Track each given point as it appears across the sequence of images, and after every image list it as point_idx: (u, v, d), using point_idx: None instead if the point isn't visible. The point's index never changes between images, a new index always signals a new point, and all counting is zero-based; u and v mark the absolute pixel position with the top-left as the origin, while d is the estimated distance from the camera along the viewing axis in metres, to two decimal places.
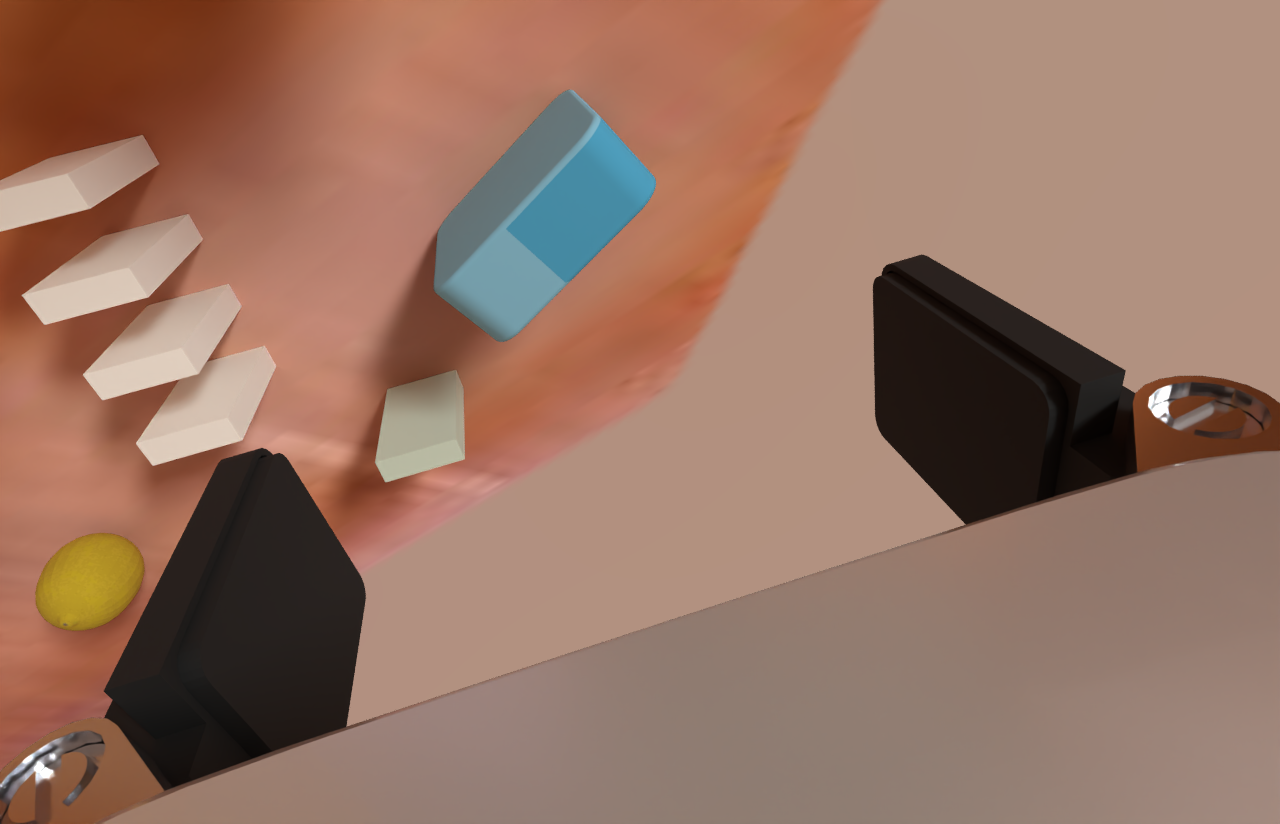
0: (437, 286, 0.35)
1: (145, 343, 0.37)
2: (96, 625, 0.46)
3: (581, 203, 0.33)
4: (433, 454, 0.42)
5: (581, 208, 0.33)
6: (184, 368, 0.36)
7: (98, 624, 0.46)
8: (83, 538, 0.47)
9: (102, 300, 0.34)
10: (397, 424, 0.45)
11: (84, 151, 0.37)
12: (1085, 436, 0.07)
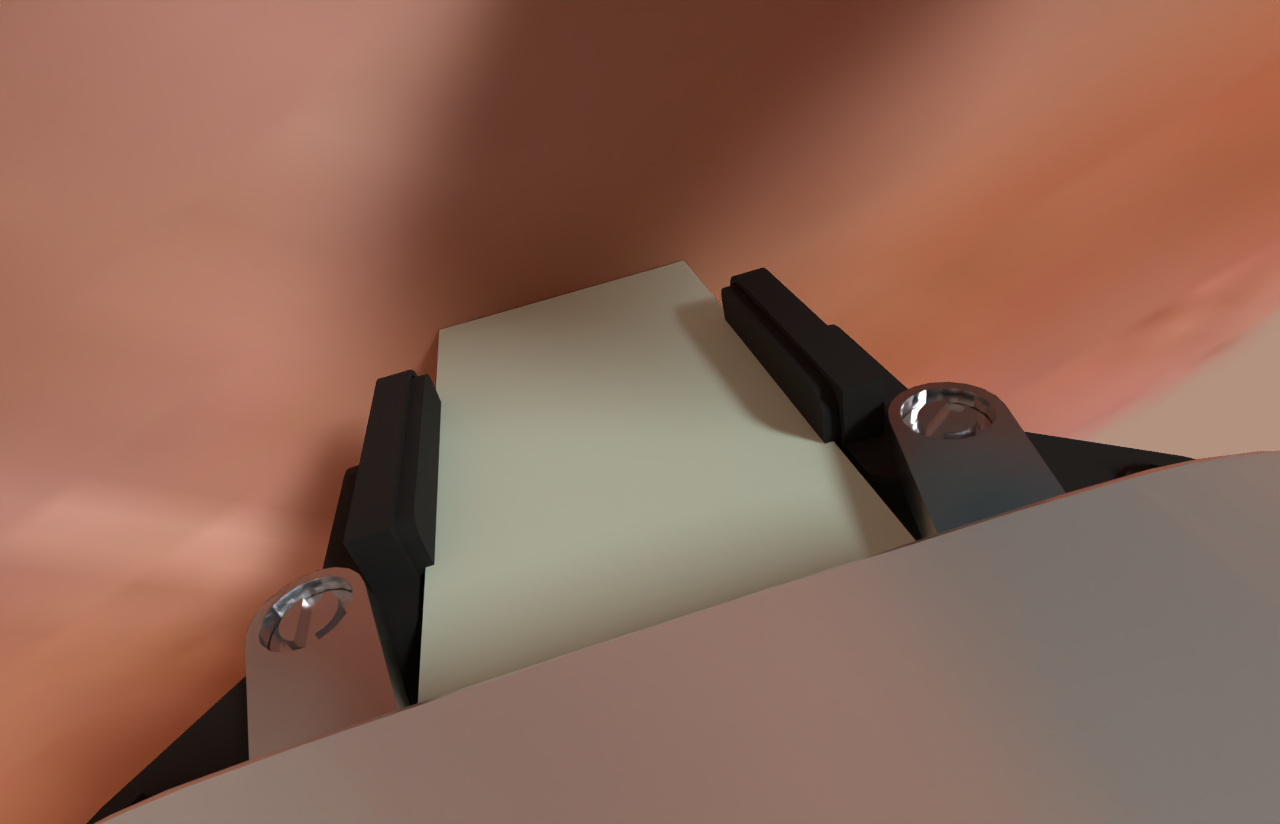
0: None
1: None
2: None
3: None
4: None
5: None
6: None
7: None
8: None
9: None
10: (512, 469, 0.09)
11: None
12: (858, 436, 0.08)
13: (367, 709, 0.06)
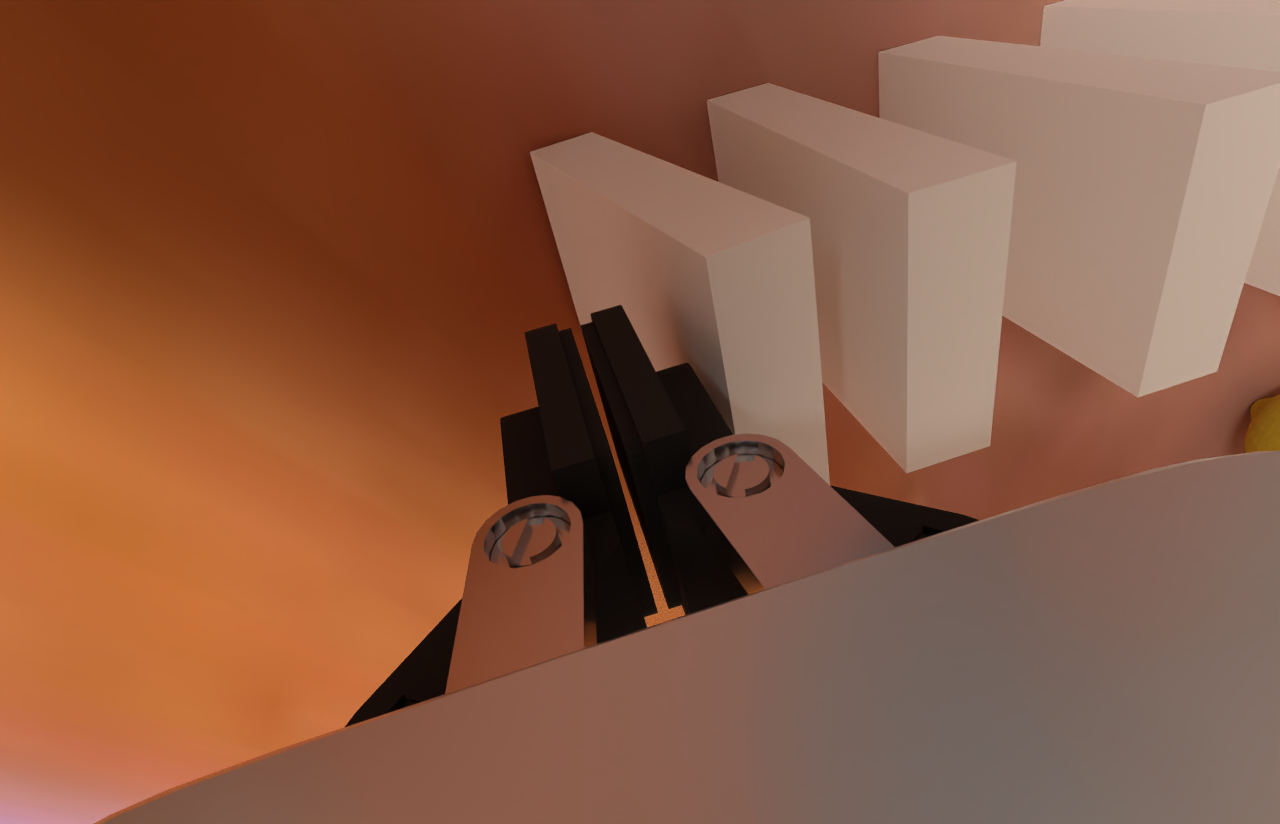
0: None
1: (1063, 236, 0.13)
2: None
3: None
4: None
5: None
6: (1266, 118, 0.10)
7: None
8: None
9: (979, 299, 0.10)
10: None
11: (574, 269, 0.17)
12: (668, 487, 0.08)
13: (557, 653, 0.06)
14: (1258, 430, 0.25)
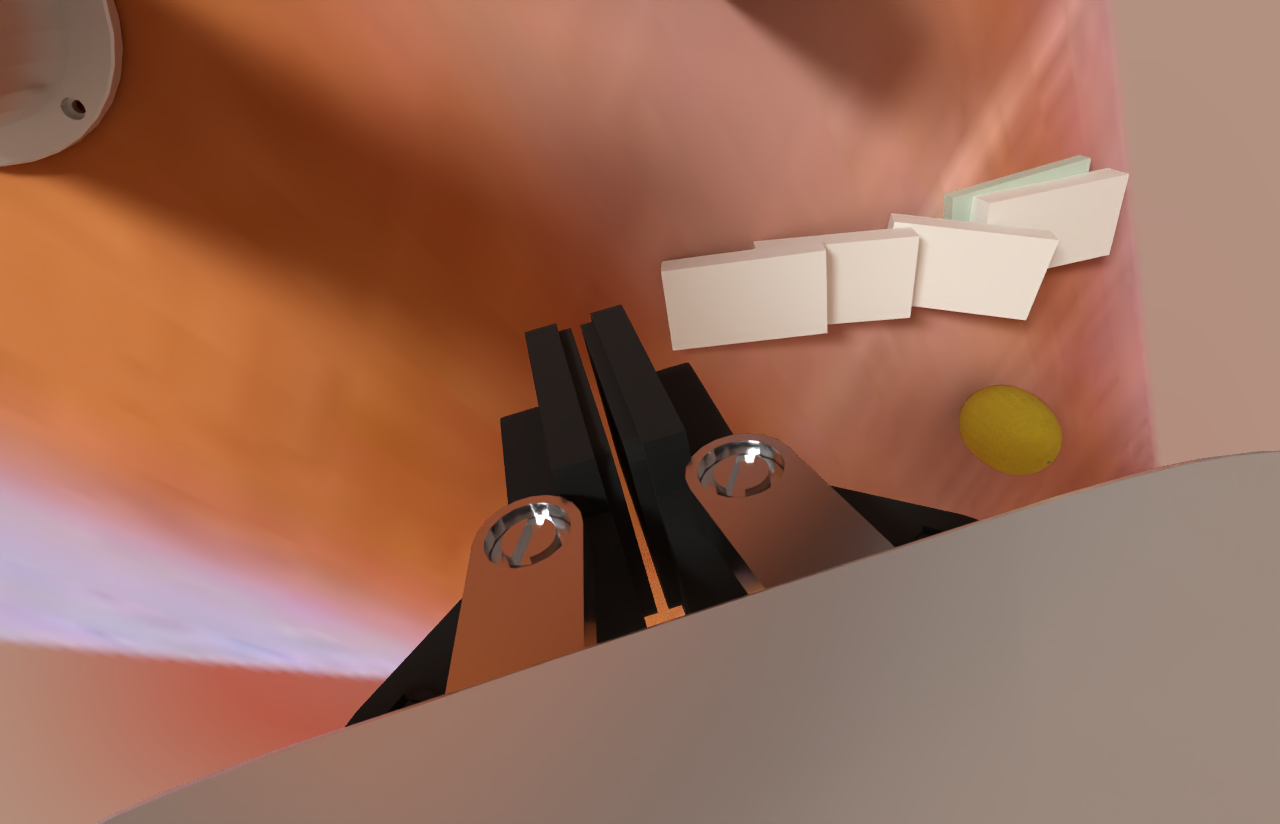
0: None
1: (1000, 279, 0.41)
2: (1061, 439, 0.45)
3: None
4: None
5: None
6: None
7: (1060, 438, 0.45)
8: (961, 424, 0.48)
9: None
10: None
11: (688, 311, 0.40)
12: (668, 487, 0.08)
13: (557, 653, 0.06)
14: (961, 412, 0.49)
